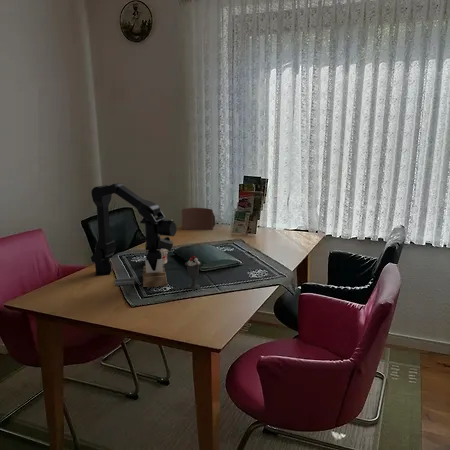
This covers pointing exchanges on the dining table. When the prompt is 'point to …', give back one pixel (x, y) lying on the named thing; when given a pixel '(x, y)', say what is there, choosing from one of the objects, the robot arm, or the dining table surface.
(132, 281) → the rails
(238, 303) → the dining table surface
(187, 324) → the dining table surface
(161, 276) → the rack
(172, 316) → the dining table surface
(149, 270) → the upright white panel
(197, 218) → the letter holder
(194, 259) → the sundae
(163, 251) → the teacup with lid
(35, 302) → the dining table surface
